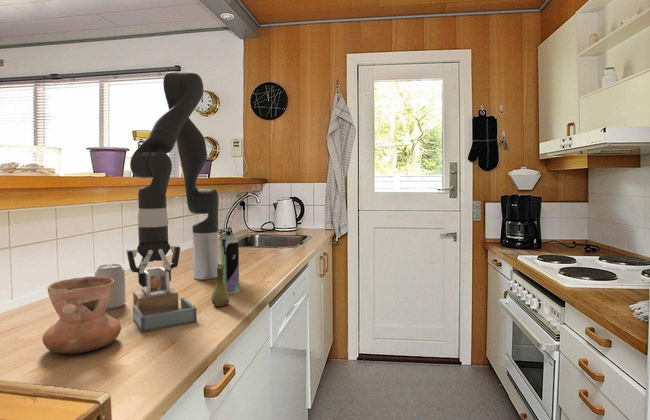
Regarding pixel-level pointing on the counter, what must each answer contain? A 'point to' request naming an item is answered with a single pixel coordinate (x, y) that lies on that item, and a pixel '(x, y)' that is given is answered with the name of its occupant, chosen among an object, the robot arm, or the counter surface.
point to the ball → (154, 283)
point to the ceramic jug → (81, 315)
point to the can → (119, 283)
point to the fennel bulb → (220, 289)
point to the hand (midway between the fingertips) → (155, 284)
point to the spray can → (230, 262)
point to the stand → (155, 301)
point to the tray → (165, 317)
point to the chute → (161, 276)
